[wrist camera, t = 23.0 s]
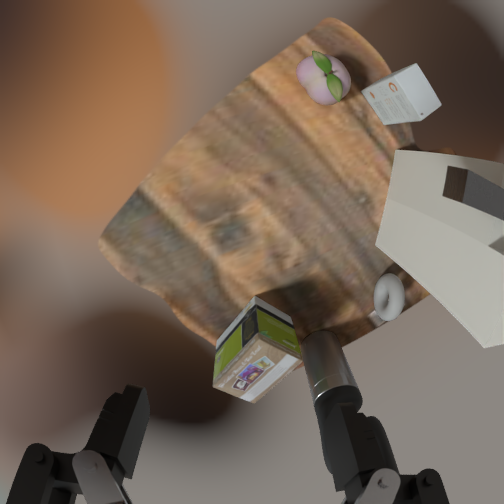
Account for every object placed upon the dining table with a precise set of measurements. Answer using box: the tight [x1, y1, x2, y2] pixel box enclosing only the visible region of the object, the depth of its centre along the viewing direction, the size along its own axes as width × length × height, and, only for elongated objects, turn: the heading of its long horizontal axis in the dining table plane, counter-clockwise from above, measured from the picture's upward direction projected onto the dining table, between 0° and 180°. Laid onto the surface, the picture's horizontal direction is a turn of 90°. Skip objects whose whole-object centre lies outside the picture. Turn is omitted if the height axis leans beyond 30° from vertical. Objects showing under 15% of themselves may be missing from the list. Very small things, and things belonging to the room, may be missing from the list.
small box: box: [361, 63, 442, 125], centre depth 35 cm, size 8×6×13 cm
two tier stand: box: [375, 150, 504, 348], centre depth 33 cm, size 14×20×34 cm
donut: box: [374, 273, 405, 321], centre depth 50 cm, size 10×4×10 cm, turn 177°
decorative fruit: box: [296, 51, 351, 105], centre depth 36 cm, size 9×8×10 cm
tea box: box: [213, 296, 303, 403], centre depth 51 cm, size 15×10×15 cm, turn 145°
